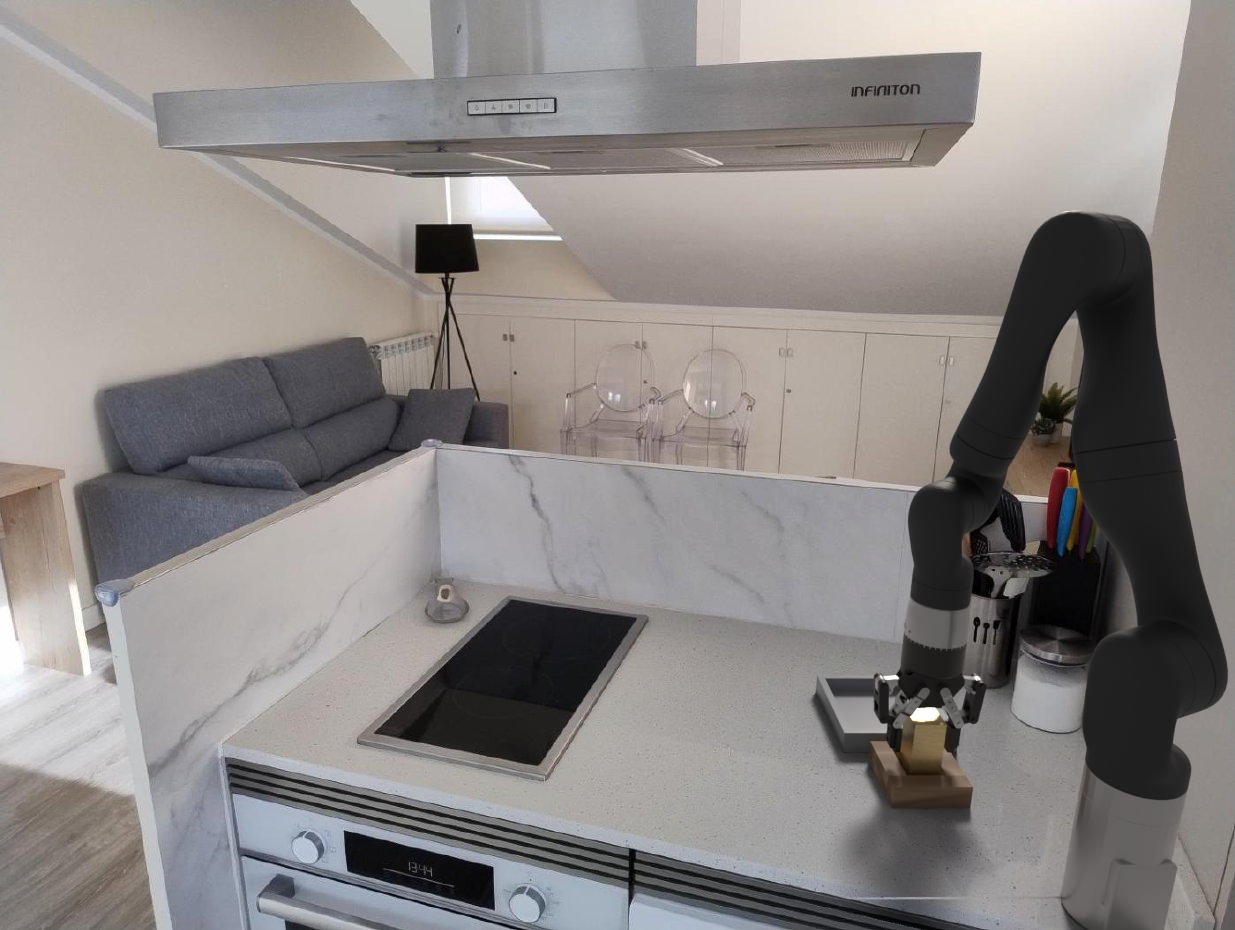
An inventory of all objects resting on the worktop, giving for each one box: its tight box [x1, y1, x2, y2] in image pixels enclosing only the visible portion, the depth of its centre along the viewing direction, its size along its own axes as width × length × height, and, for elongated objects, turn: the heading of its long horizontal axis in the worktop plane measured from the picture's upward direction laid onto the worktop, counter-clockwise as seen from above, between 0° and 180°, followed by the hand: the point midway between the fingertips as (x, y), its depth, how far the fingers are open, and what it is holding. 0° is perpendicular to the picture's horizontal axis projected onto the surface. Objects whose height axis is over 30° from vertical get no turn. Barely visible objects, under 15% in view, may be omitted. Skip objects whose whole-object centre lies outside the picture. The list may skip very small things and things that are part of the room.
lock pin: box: [899, 708, 947, 775], centre depth 114 cm, size 4×4×10 cm
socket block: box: [868, 741, 974, 809], centre depth 115 cm, size 10×10×3 cm
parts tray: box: [815, 674, 958, 753], centre depth 129 cm, size 16×16×3 cm
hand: (921, 748), depth 114 cm, fingers open, 6 cm apart
